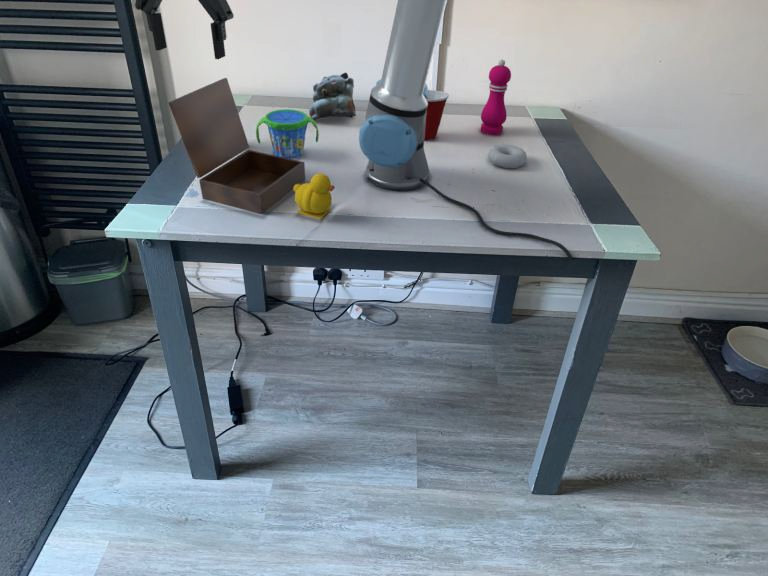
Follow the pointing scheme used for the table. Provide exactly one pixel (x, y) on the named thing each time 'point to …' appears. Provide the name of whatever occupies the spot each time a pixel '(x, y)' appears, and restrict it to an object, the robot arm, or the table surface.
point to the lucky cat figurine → (333, 97)
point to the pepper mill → (496, 100)
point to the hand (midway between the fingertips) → (190, 53)
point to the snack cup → (287, 131)
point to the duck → (314, 196)
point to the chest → (253, 181)
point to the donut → (507, 156)
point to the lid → (209, 126)
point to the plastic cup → (434, 112)
